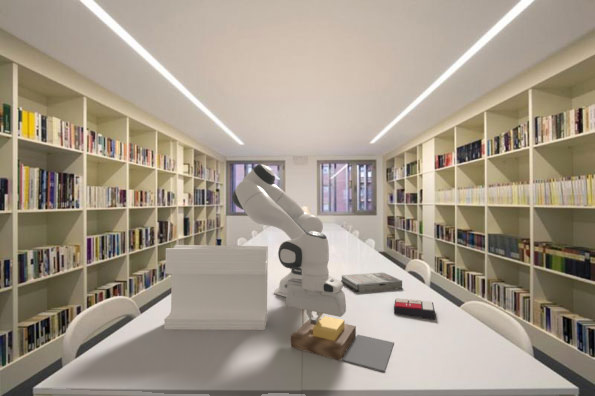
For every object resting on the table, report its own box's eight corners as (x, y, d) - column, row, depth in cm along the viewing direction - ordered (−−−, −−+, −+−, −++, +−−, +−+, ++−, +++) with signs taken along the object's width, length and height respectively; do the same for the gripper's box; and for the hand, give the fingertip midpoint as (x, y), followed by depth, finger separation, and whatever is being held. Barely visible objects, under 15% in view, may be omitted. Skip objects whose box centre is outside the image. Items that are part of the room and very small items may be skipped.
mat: (342, 360, 80) (342, 359, 80) (357, 335, 95) (357, 334, 95) (384, 372, 74) (384, 370, 74) (393, 343, 90) (393, 342, 90)
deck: (290, 346, 87) (290, 335, 87) (311, 326, 101) (311, 316, 101) (340, 360, 80) (340, 347, 80) (355, 336, 94) (355, 326, 94)
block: (266, 320, 107) (267, 245, 107) (264, 329, 99) (265, 249, 99) (174, 319, 106) (175, 245, 107) (164, 329, 98) (165, 248, 99)
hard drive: (340, 283, 158) (340, 275, 158) (383, 280, 165) (383, 272, 165) (356, 293, 140) (356, 284, 140) (402, 289, 148) (403, 280, 148)
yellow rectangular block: (312, 335, 87) (312, 327, 87) (324, 323, 96) (324, 316, 96) (334, 340, 84) (334, 332, 84) (344, 327, 93) (344, 320, 93)
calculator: (395, 297, 124) (432, 300, 118) (395, 307, 124) (433, 310, 118) (393, 305, 114) (434, 309, 108) (394, 316, 114) (435, 320, 108)
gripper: (282, 279, 94) (282, 321, 94) (341, 288, 85) (341, 335, 84) (291, 275, 100) (291, 314, 99) (347, 283, 90) (347, 327, 90)
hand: (314, 324), depth 92 cm, fingers closed
